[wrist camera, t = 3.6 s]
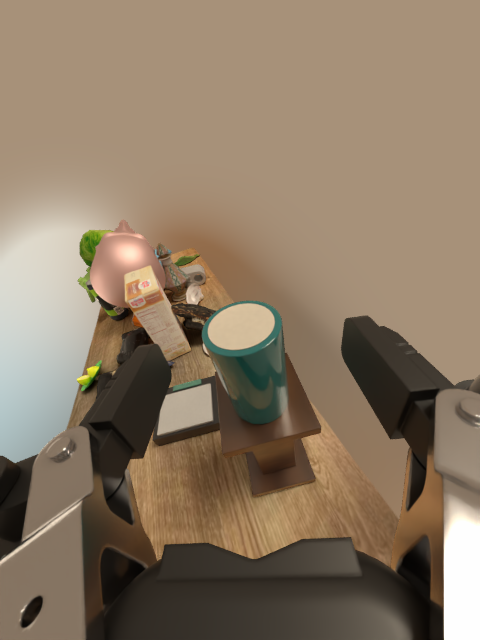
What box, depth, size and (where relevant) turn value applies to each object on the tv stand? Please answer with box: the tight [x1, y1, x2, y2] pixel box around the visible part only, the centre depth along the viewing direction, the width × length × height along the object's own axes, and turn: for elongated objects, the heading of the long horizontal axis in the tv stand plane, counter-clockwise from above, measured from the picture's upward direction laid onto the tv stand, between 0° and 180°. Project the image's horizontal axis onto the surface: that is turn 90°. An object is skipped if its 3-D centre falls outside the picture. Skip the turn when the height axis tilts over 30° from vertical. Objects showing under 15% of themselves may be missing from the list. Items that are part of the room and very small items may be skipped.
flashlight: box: [96, 373, 112, 399], centre depth 45 cm, size 3×16×3 cm, turn 22°
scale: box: [153, 376, 220, 446], centre depth 41 cm, size 12×10×3 cm
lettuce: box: [80, 230, 114, 267], centre depth 84 cm, size 17×20×15 cm
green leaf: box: [174, 254, 200, 266], centre depth 104 cm, size 11×15×1 cm
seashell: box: [186, 283, 204, 305], centre depth 71 cm, size 8×5×8 cm
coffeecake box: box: [124, 265, 191, 361], centre depth 53 cm, size 15×7×20 cm, turn 26°
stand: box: [215, 353, 321, 497], centre depth 27 cm, size 9×9×18 cm
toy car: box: [117, 327, 149, 365], centre depth 59 cm, size 7×15×4 cm, turn 18°
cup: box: [202, 301, 289, 424], centre depth 18 cm, size 6×6×10 cm
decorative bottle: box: [156, 243, 188, 301], centre depth 72 cm, size 10×10×20 cm
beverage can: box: [86, 279, 129, 320], centre depth 71 cm, size 6×6×15 cm
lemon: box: [77, 360, 101, 391], centre depth 52 cm, size 8×8×3 cm
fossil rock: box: [171, 303, 216, 330], centre depth 57 cm, size 14×14×6 cm
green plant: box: [78, 267, 95, 302], centre depth 89 cm, size 15×14×11 cm
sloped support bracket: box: [181, 265, 206, 288], centre depth 81 cm, size 6×18×8 cm
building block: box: [131, 314, 143, 328], centre depth 58 cm, size 6×6×3 cm
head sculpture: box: [90, 220, 166, 308], centre depth 67 cm, size 20×26×30 cm
